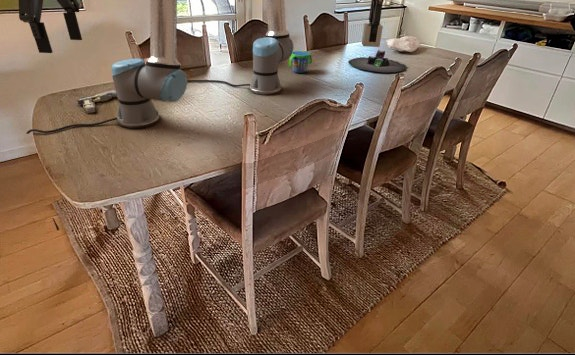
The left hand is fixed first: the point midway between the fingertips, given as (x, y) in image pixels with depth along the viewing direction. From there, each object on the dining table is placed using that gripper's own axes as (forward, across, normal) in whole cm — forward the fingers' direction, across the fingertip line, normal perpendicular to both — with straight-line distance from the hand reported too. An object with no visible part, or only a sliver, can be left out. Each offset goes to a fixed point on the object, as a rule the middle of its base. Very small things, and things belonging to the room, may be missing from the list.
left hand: (62, 45), depth 90 cm
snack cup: (+37, +114, -61) cm, 135 cm away
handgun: (+37, +55, +24) cm, 70 cm away
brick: (+13, +76, -91) cm, 119 cm away
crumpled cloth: (+37, +177, -134) cm, 225 cm away
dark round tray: (+37, +134, -108) cm, 177 cm away
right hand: (+11, +76, -91) cm, 119 cm away
